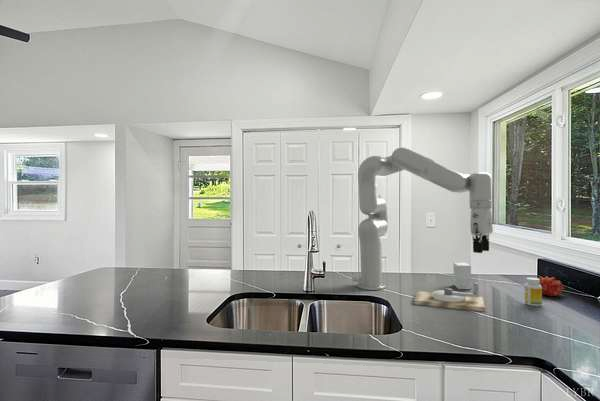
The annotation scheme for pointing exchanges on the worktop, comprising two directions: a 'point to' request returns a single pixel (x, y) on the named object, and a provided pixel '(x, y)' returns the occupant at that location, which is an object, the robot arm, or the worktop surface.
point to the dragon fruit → (550, 286)
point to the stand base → (468, 304)
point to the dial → (454, 294)
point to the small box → (462, 275)
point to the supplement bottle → (533, 292)
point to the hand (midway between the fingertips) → (481, 251)
